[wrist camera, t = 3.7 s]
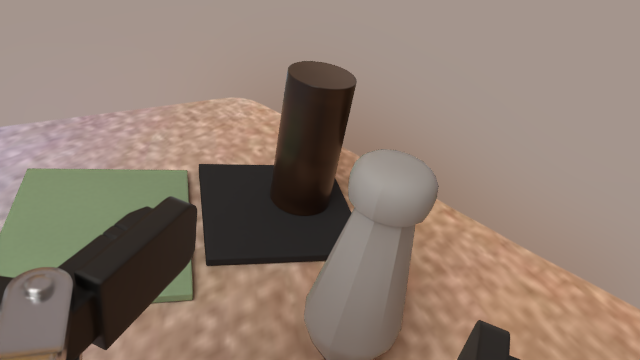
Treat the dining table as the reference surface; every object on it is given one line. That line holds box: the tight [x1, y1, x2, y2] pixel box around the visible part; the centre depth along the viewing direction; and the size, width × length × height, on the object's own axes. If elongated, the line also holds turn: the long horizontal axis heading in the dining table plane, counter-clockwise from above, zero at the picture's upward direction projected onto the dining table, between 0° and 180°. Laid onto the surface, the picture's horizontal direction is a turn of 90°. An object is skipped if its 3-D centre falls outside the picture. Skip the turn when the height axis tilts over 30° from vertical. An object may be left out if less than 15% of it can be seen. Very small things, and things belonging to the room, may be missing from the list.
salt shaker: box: [304, 149, 438, 360], centre depth 27 cm, size 6×6×13 cm
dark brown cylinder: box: [270, 61, 356, 216], centre depth 38 cm, size 5×5×11 cm
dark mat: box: [199, 164, 352, 266], centre depth 40 cm, size 12×12×1 cm
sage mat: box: [0, 169, 193, 303], centre depth 34 cm, size 12×14×1 cm
